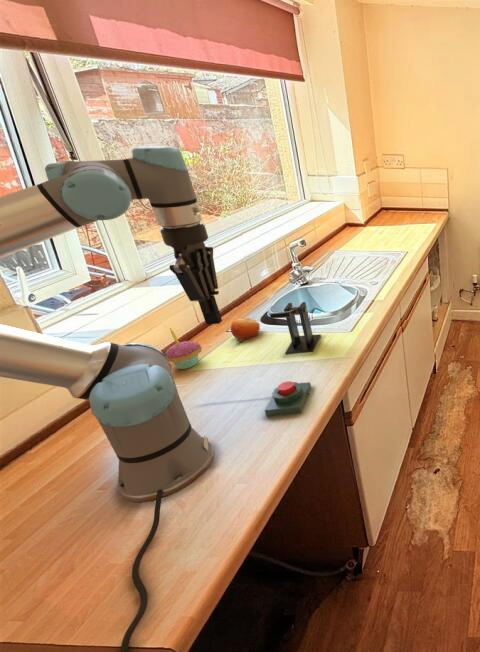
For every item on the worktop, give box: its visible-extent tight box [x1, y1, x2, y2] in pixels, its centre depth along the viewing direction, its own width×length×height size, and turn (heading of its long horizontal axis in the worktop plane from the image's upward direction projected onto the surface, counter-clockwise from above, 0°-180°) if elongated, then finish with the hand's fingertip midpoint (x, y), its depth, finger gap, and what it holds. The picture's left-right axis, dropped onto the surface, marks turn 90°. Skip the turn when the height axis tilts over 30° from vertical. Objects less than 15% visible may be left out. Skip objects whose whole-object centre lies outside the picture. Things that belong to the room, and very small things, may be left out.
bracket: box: [283, 301, 322, 355], centre depth 126 cm, size 10×8×15 cm
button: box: [277, 380, 295, 395], centre depth 103 cm, size 4×4×2 cm
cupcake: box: [164, 327, 203, 370], centre depth 117 cm, size 9×8×12 cm
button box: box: [264, 381, 312, 418], centre depth 104 cm, size 10×8×4 cm
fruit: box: [230, 317, 261, 344], centre depth 132 cm, size 8×8×8 cm
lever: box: [269, 305, 300, 319], centre depth 118 cm, size 14×5×2 cm, turn 10°
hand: (214, 322), depth 93 cm, fingers closed
